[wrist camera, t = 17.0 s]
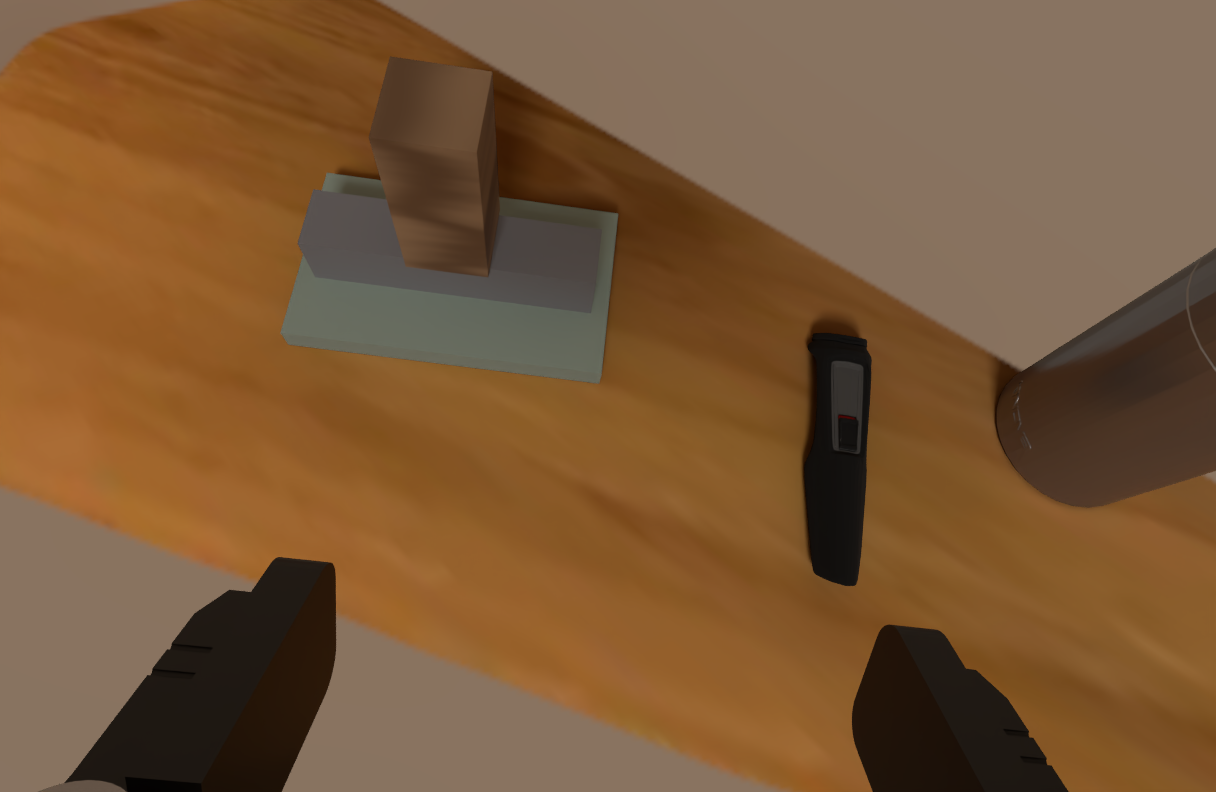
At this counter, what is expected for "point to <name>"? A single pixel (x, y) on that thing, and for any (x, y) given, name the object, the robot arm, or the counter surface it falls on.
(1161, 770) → the counter surface
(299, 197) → the counter surface
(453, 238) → the brown wooden block
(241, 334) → the counter surface
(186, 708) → the robot arm
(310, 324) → the ridge board
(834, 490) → the electric trimmer
